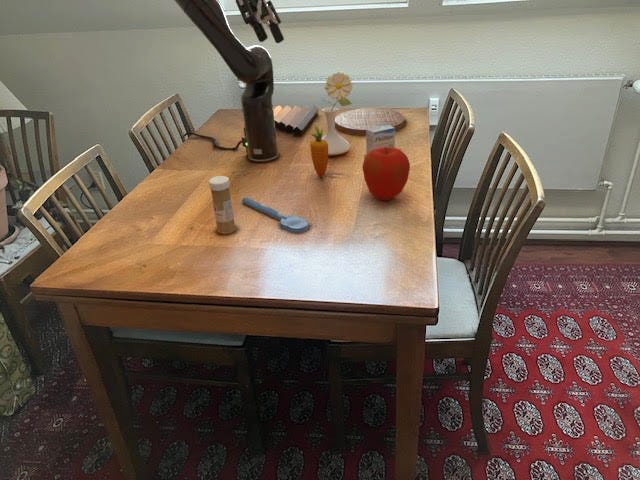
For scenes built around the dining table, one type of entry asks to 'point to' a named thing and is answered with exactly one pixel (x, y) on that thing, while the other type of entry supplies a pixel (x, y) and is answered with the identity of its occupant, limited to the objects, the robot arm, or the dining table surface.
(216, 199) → the sprinkles bottle
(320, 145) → the carrot
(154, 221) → the dining table surface
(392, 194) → the apple
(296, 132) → the pan flute
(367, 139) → the medicine box
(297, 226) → the spoon
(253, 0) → the robot arm
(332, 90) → the flower in vase
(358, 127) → the trivet
